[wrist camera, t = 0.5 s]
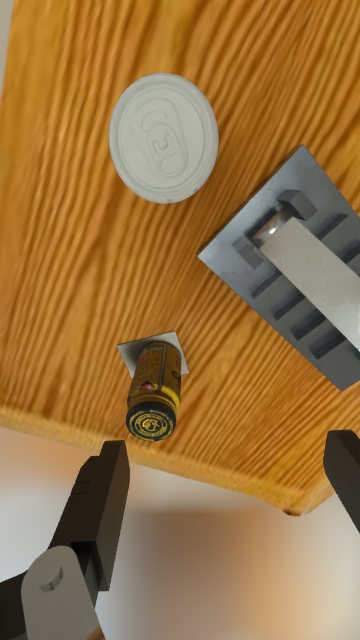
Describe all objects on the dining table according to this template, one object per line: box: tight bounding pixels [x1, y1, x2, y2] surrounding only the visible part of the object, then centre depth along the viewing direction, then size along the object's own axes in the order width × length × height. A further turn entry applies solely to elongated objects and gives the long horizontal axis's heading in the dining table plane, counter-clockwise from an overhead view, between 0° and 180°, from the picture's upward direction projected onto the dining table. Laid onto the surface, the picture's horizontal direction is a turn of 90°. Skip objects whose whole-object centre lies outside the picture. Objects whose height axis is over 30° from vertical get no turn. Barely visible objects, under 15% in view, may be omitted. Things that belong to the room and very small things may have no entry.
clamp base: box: [197, 144, 360, 391], centre depth 30 cm, size 14×28×6 cm, turn 48°
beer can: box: [109, 73, 219, 204], centre depth 21 cm, size 6×6×15 cm
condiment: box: [117, 331, 189, 441], centre depth 33 cm, size 7×8×12 cm
